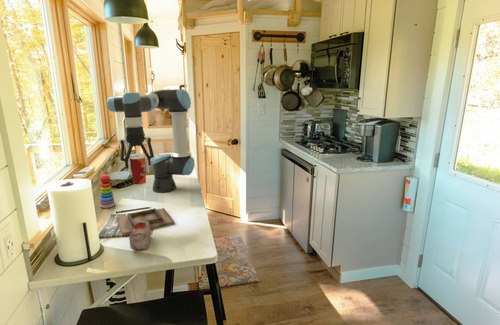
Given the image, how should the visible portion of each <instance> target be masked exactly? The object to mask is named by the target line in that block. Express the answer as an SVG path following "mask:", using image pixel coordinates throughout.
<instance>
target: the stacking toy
mask: <svg viewBox="0 0 500 325" xmlns="http://www.w3.org/2000/svg"><path fill="white" fill-rule="evenodd" d="M110 180H111V177H110V175H109V174H102V175H101V176H100V178H99V181H100V182H101V183H100V199H99V200H100V201H99V207H100V208H101V209H109V208H113V207H114V206H115V205H116V201H115V199H114V197H115V196H114V193H113V189H112V186H111V182H110Z"/></svg>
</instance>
